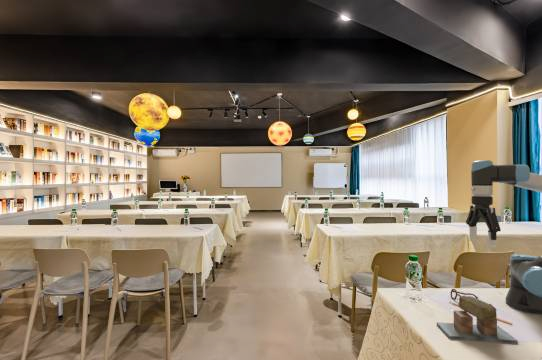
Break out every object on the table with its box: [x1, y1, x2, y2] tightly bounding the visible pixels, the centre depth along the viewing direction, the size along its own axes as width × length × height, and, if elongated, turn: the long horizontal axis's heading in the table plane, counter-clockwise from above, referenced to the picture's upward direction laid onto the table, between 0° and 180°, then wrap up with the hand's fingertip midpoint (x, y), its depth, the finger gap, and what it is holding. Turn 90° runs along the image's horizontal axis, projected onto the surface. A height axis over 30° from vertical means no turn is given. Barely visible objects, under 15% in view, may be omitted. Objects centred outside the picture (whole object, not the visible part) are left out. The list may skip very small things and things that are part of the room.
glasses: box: [450, 288, 497, 311], centre depth 132 cm, size 13×13×5 cm
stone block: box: [458, 295, 498, 321], centre depth 104 cm, size 6×12×5 cm, turn 9°
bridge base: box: [436, 310, 519, 344], centre depth 104 cm, size 22×10×7 cm, turn 83°
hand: (482, 244), depth 125 cm, fingers open, 13 cm apart
